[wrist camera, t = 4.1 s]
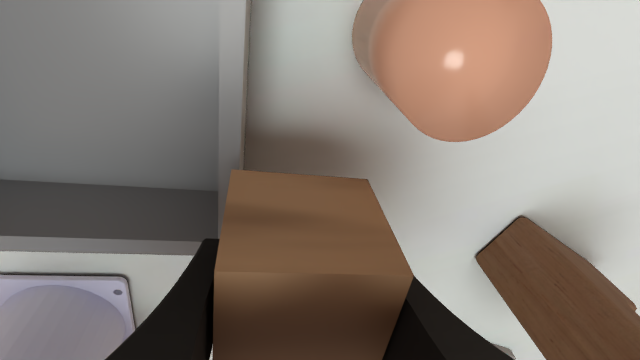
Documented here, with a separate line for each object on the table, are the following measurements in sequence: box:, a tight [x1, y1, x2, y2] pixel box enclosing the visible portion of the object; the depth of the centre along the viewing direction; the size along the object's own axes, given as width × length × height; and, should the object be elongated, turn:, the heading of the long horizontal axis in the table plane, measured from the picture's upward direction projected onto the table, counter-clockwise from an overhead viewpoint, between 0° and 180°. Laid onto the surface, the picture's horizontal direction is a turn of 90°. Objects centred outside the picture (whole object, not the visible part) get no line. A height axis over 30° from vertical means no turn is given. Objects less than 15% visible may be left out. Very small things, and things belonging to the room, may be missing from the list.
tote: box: [0, 0, 251, 255], centre depth 13 cm, size 18×14×5 cm
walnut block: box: [213, 169, 414, 360], centre depth 12 cm, size 5×5×5 cm
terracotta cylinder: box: [352, 0, 552, 142], centre depth 14 cm, size 5×5×7 cm
